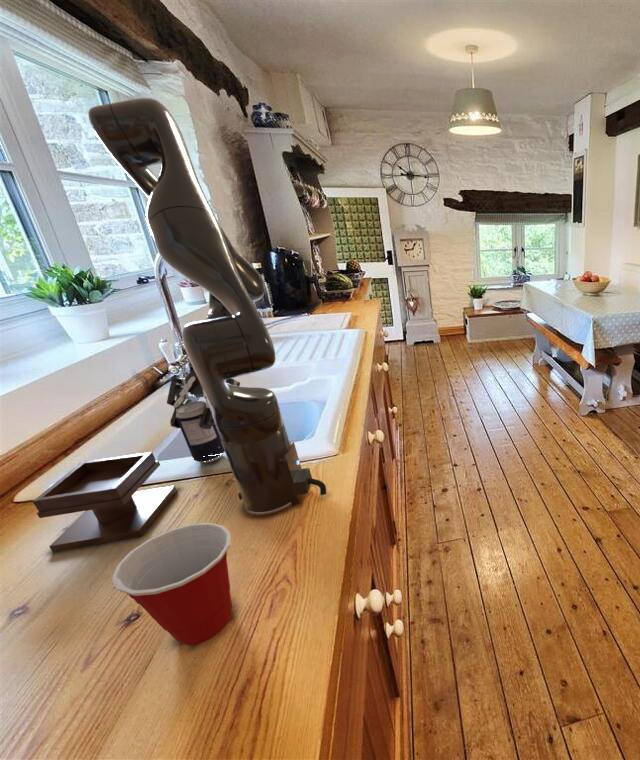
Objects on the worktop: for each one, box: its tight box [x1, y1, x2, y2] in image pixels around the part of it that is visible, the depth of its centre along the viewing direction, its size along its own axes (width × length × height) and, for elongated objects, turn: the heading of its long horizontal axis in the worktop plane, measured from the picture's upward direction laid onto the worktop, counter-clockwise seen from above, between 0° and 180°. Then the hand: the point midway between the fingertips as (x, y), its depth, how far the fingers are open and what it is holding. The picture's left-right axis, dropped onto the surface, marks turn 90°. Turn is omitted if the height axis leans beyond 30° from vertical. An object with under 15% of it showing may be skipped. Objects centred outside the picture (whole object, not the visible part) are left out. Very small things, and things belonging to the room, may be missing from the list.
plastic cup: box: [111, 522, 233, 647], centre depth 49 cm, size 11×11×12 cm
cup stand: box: [32, 451, 178, 553], centre depth 68 cm, size 12×12×9 cm
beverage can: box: [176, 400, 225, 464], centre depth 84 cm, size 6×6×12 cm
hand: (190, 427), depth 81 cm, fingers closed on beverage can, 5 cm apart
